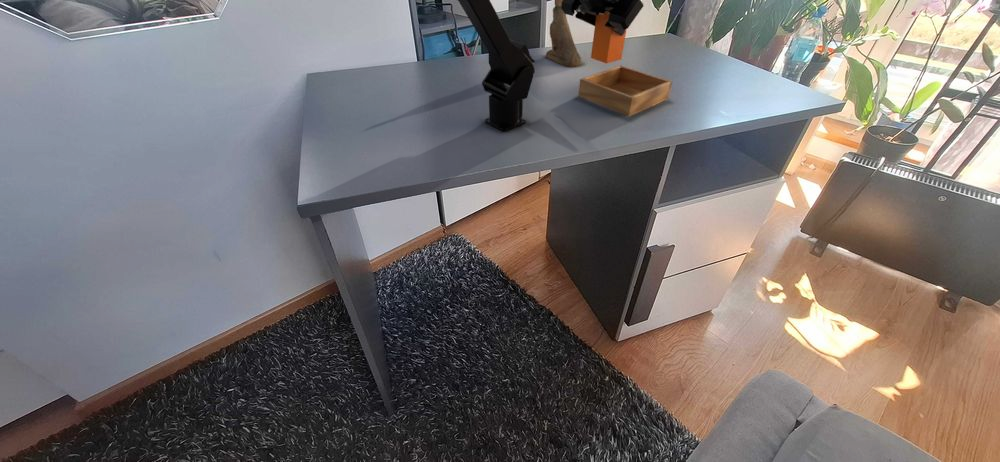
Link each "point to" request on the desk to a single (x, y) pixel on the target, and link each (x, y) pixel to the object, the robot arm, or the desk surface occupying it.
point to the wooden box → (624, 90)
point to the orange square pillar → (606, 41)
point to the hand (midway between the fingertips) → (614, 31)
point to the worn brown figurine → (562, 39)
